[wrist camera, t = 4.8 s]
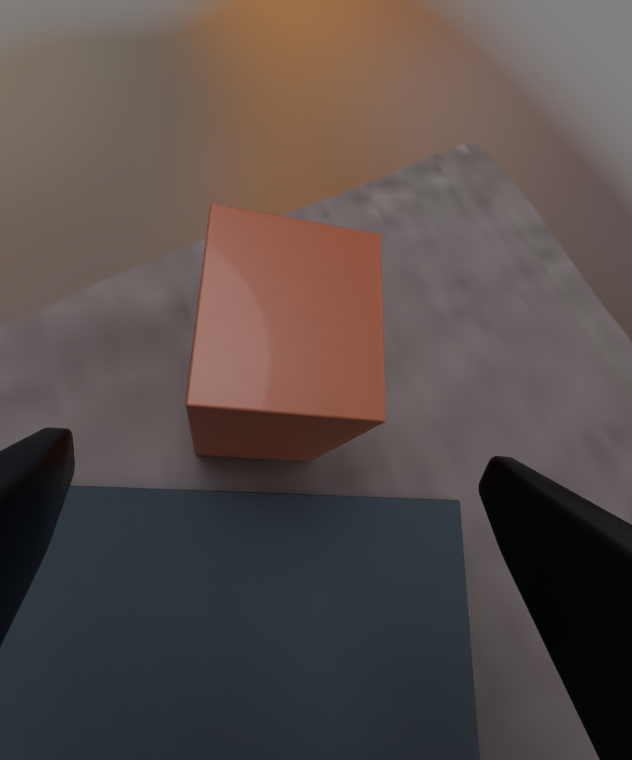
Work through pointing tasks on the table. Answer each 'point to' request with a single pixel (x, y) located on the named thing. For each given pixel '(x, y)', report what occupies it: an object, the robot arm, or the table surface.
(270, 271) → the toy box
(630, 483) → the table surface
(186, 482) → the table surface
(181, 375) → the table surface
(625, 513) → the table surface
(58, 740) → the mat
